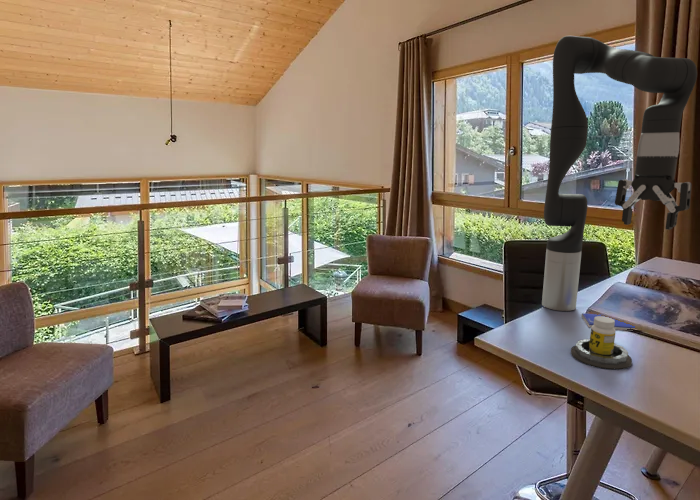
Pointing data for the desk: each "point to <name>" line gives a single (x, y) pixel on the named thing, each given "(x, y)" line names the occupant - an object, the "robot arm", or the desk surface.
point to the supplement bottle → (602, 336)
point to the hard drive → (590, 317)
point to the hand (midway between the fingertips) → (647, 226)
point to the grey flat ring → (601, 357)
